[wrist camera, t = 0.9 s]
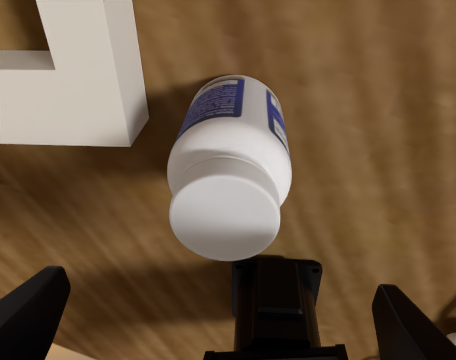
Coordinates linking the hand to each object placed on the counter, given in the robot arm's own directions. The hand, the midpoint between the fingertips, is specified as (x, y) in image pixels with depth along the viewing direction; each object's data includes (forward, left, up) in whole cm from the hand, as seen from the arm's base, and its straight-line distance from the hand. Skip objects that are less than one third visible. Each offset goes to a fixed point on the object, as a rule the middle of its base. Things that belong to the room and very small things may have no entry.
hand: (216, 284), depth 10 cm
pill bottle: (0, 0, -12) cm, 12 cm away
